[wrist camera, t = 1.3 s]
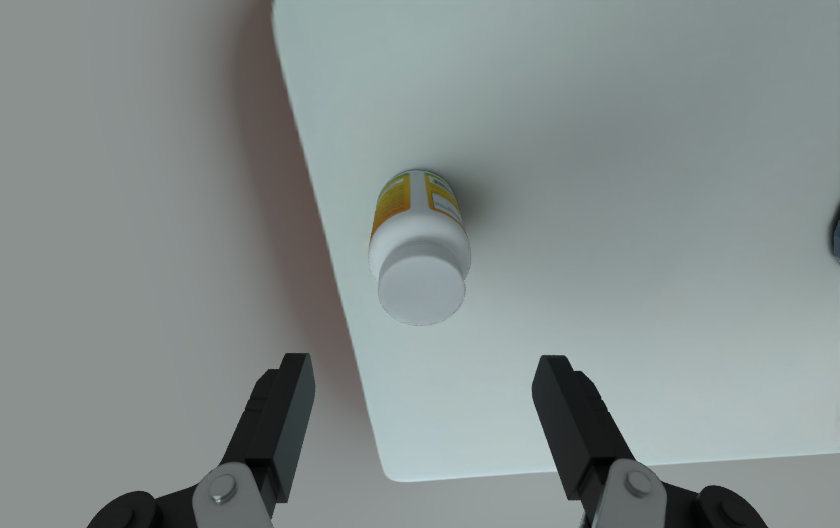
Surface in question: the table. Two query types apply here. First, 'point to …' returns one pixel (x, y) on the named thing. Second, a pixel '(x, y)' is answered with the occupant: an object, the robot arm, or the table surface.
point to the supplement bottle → (419, 249)
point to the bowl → (837, 242)
